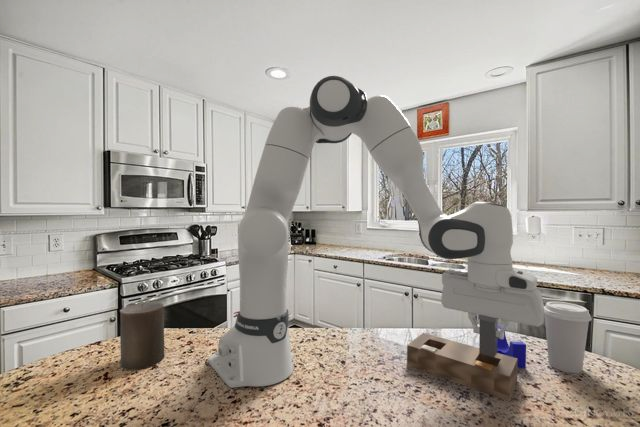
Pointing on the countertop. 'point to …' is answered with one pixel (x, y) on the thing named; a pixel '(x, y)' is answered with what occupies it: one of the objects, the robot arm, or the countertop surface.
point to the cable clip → (512, 350)
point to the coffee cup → (566, 335)
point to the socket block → (464, 365)
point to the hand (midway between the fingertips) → (488, 335)
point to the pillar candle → (142, 335)
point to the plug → (488, 335)
